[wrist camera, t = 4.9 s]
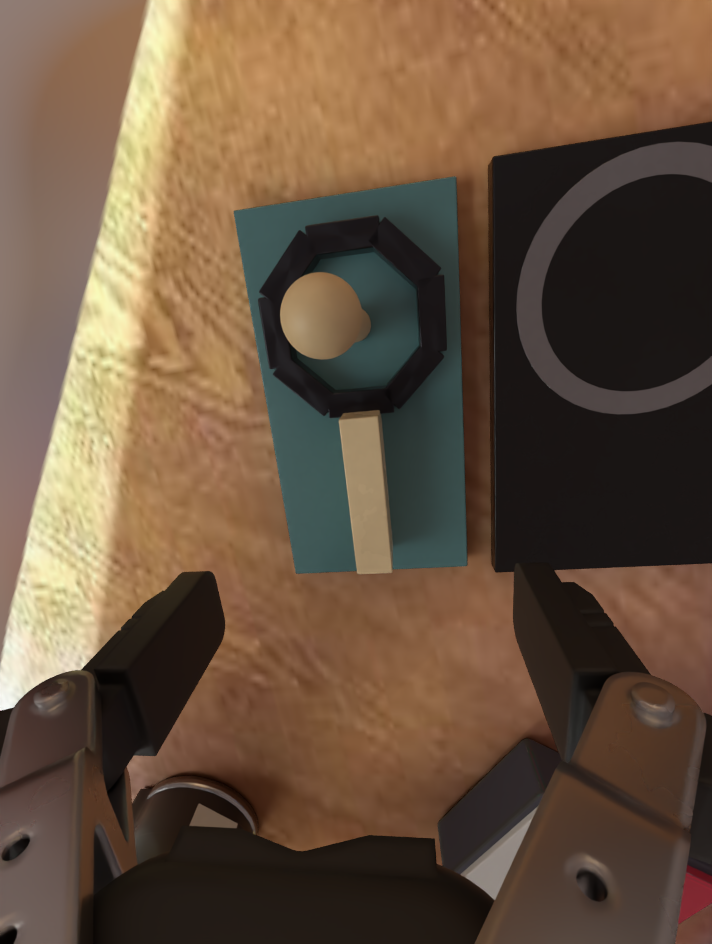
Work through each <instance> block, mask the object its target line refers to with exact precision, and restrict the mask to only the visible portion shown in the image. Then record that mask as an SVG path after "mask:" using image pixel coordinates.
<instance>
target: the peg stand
mask: <svg viewBox="0 0 712 944" xmlns="http://www.w3.org/2000/svg"><path fill="white" fill-rule="evenodd" d="M374 215H378V216H379V220H380V222H381V221H382V219H383V218H384V217H386V218H387V219H388V220H389V221H390V222H391V223H393V224H394V225H395V226H396V227H397V228H398V229H399V230H400V231H401V232H402V233H404V234H405V235H406V236H407V237H408V238H409V239H410V240H411V241H412V242H413V243H415V244H416V245H417V246H418V247H419V248H420V249H421V250H422V251H423V252H424V253H426V254H427V255H428V256H429V257H430V258H431V259H432V260H433V261H434V262H435V263H437V264H438V265H439V266H440V267H441V270H440V271H439V273H438V274H437V275H441V274H443V275H444V281H445V306H446V332H447V350H446V351H441V353H442V354H443V355H444V358H443V360H442V361H441V362H440V363H439V364H438V365H437V367H436V368H435V369H434V370H433V371H432V372H431V374H430V375H429V376H428V377H427V378H426V379H425V381H424V382H423V383H422V384H421V385H420V386H419V388H418V389H417V390H416V391H415V392H414V393H413V395H412V396H411V397H410V398H409V399H408V400H407V402H406V403H405V404H404V405H403V406H402V407H401V409H398V408H396V407H395V406H394V407H395V409H394V413H384V414H381V418H382V429H383V440H384V451H385V463H386V474H387V485H388V496H389V507H390V519H391V530H392V541H393V569H411V568H434V567H456V566H467V565H468V564H467V530H466V495H465V460H464V425H463V390H462V356H461V321H460V286H459V251H458V216H457V182H456V177H455V176H454V177H447V178H441V179H435V180H428V181H422V182H415V183H409V184H402V185H396V186H390V187H383V188H377V189H370V190H364V191H357V192H351V193H345V194H338V195H332V196H325V197H319V198H312V199H306V200H300V201H293V202H287V203H280V204H274V205H268V206H261V207H255V208H248V209H242V210H235V211H234V217H235V223H236V228H237V234H238V240H239V246H240V252H241V257H242V263H243V269H244V275H245V281H246V286H247V292H248V298H249V304H250V310H251V315H252V321H253V327H254V333H255V339H256V344H257V350H258V356H259V362H260V368H261V374H262V379H263V385H264V391H265V397H266V403H267V408H268V414H269V420H270V426H271V432H272V437H273V443H274V449H275V455H276V461H277V466H278V472H279V478H280V484H281V490H282V495H283V501H284V507H285V513H286V519H287V524H288V530H289V536H290V542H291V548H292V553H293V559H294V565H295V571H296V574H300V573H322V572H344V571H357V568H356V560H355V551H354V543H353V535H352V527H351V518H350V510H349V502H348V494H347V485H346V477H345V469H344V461H343V452H342V444H341V436H340V428H339V419H340V418H341V417H340V418H329V413H327V414H326V415H325V416H323V415H321V414H320V413H319V412H318V411H316V410H315V409H314V408H313V407H312V406H310V405H309V404H308V403H307V402H305V401H304V400H303V399H302V398H300V397H299V396H298V395H297V394H295V393H294V392H293V391H292V390H291V389H289V388H288V387H287V386H286V385H284V384H283V383H282V382H281V381H279V380H278V379H277V378H276V377H274V376H273V373H274V371H275V370H276V369H270V368H269V365H268V359H267V353H266V347H265V341H264V335H263V329H262V323H261V317H260V311H259V304H258V298H262V297H264V296H262V295H261V294H260V293H259V290H260V289H261V287H262V286H263V284H264V283H265V281H266V280H267V278H268V277H269V275H270V274H271V272H272V270H273V269H274V267H275V266H276V264H277V263H278V261H279V260H280V258H281V257H282V255H283V254H284V252H285V251H286V249H287V247H288V246H289V244H290V243H291V241H292V240H293V238H294V237H295V235H296V234H297V232H298V231H299V230H301V231H302V232H304V233H305V234H306V232H305V226H307V225H313V224H320V223H327V222H333V221H340V220H347V219H354V218H360V217H367V216H374ZM280 319H281V325H282V329H283V332H284V334H285V336H286V338H287V339H288V341H289V342H290V344H291V345H292V346H293V347H294V348H295V349H296V353H297V358H298V359H299V360H300V361H301V362H302V363H304V364H305V365H306V366H307V367H309V368H310V369H311V370H312V371H313V372H315V373H316V374H317V375H318V376H320V377H321V378H322V379H323V380H324V381H326V382H327V383H328V384H329V385H330V386H332V387H333V388H334V389H335V390H345V389H355V388H365V387H375V386H386V384H387V383H388V382H389V381H390V380H391V378H392V377H393V376H394V375H395V374H396V372H397V371H398V370H399V369H400V367H401V366H402V365H403V364H404V363H405V361H406V360H407V359H408V358H409V357H410V355H411V354H412V353H413V352H414V350H415V349H416V348H417V347H418V346H419V337H418V320H417V302H416V289H415V288H414V287H413V286H412V285H411V284H409V283H408V282H407V281H406V280H405V279H404V278H403V277H402V276H400V275H399V274H398V273H397V272H396V271H395V270H394V269H393V268H391V267H390V266H389V265H388V264H387V263H386V262H385V261H384V260H383V259H381V258H380V257H379V256H378V255H377V254H376V253H375V252H371V253H364V254H356V255H349V256H342V257H335V258H327V259H321V260H320V261H319V263H318V264H317V266H316V267H315V269H314V270H313V271H312V273H310V274H307V275H305V276H303V277H301V278H299V279H298V280H296V281H295V282H294V283H293V284H292V285H291V286H290V287H289V289H288V290H287V292H286V293H285V295H284V298H283V300H282V304H281V310H280Z"/></svg>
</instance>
